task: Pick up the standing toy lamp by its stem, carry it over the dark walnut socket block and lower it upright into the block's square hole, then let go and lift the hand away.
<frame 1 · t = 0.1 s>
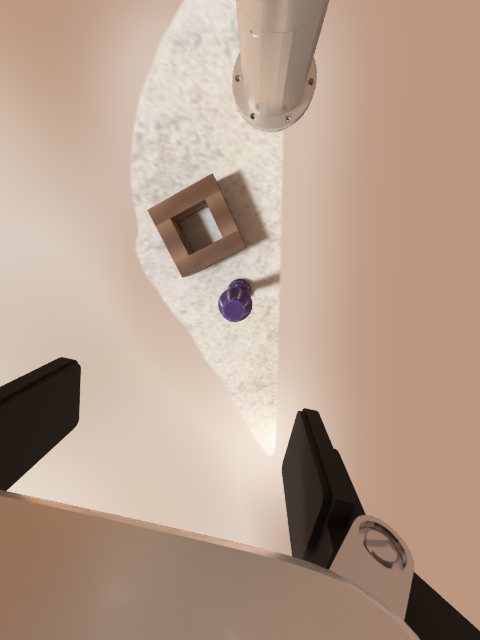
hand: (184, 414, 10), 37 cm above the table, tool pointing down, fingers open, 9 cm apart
toy lamp: (240, 291, 46), on the table
socket block: (201, 230, 44), on the table
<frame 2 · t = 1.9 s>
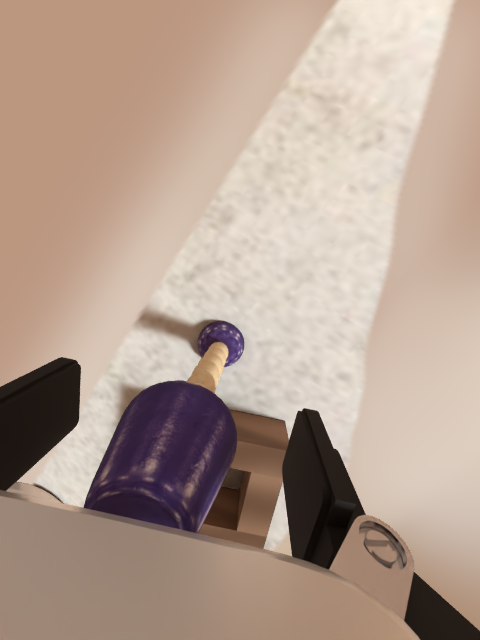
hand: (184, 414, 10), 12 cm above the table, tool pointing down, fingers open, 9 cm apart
toy lamp: (221, 339, 22), on the table
socket block: (214, 459, 25), on the table
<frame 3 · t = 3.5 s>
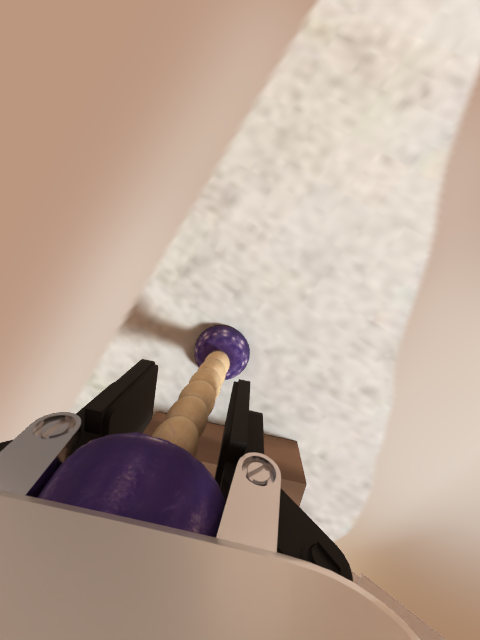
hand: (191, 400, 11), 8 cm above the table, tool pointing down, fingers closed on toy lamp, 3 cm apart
toy lamp: (222, 346, 19), on the table, touching gripper
socket block: (214, 482, 22), on the table
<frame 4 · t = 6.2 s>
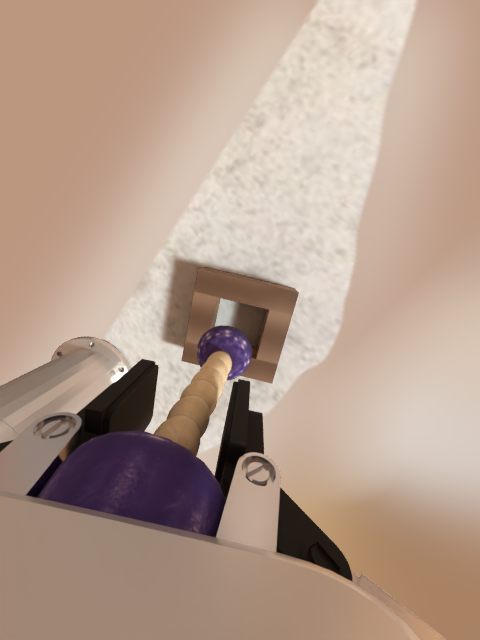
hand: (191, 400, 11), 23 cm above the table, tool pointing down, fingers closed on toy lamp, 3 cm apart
toy lamp: (224, 346, 19), point 15 cm above the table, touching gripper
socket block: (239, 320, 34), on the table
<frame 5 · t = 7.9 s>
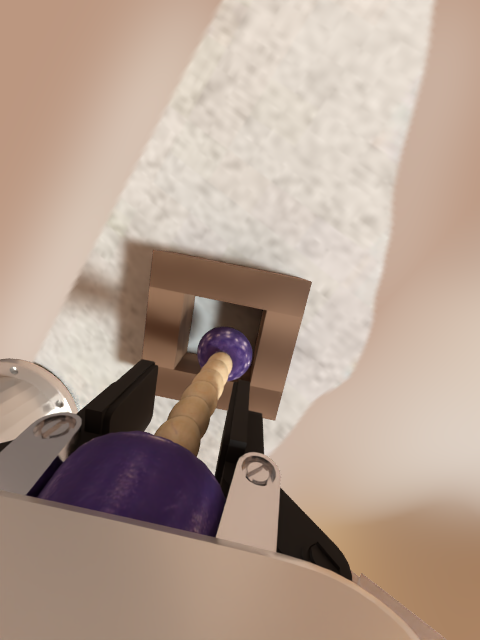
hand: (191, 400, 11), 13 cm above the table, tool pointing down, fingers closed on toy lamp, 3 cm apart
toy lamp: (225, 347, 19), point 5 cm above the table, touching gripper
socket block: (224, 327, 23), on the table
when the fingers open (9 cm above the table, at t = 9.2 s): toy lamp drops 1 cm, resting in socket block.
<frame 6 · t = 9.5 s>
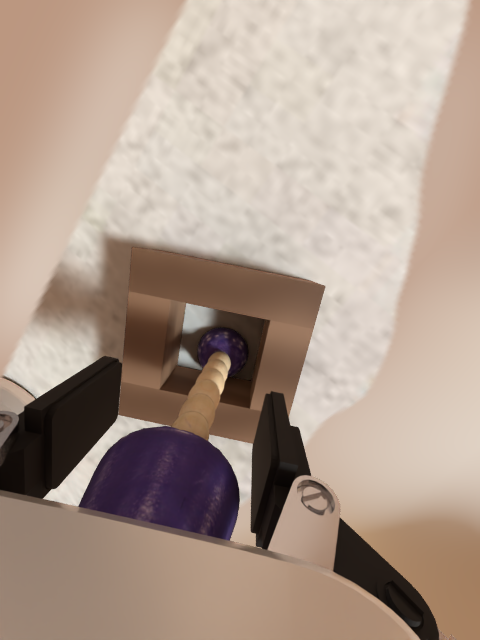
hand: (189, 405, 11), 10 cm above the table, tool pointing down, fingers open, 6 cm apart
toy lamp: (222, 346, 20), resting in socket block
socket block: (220, 338, 20), on the table
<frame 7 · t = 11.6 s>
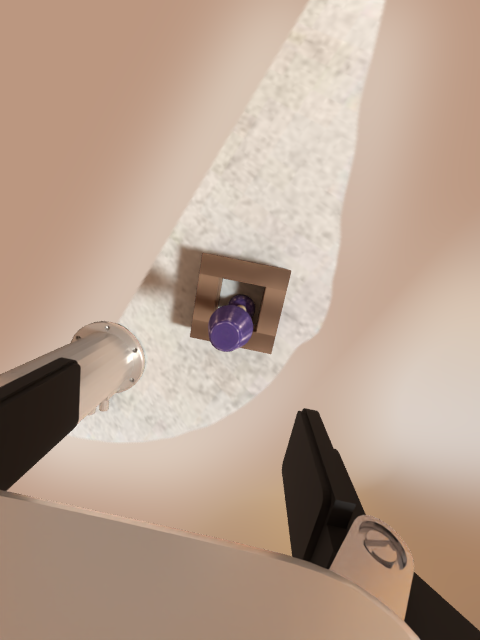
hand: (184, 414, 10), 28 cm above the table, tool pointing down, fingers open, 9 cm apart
toy lamp: (241, 305, 38), resting in socket block
socket block: (240, 300, 38), on the table
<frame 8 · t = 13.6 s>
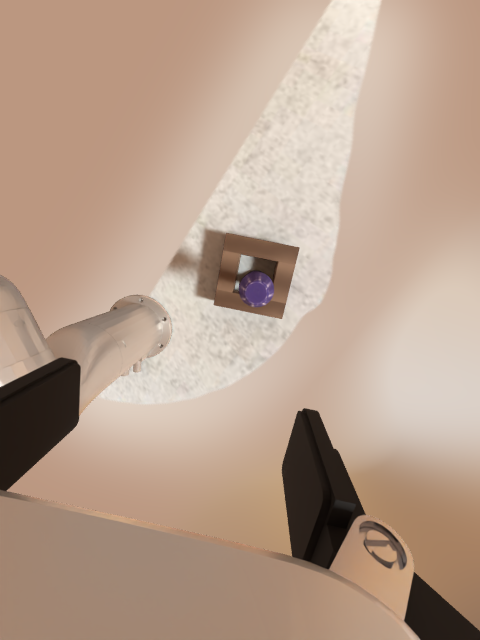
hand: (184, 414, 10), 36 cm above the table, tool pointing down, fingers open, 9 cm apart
toy lamp: (255, 280, 45), resting in socket block
socket block: (255, 275, 44), on the table
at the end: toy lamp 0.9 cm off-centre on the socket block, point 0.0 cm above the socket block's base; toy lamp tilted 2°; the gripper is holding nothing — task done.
